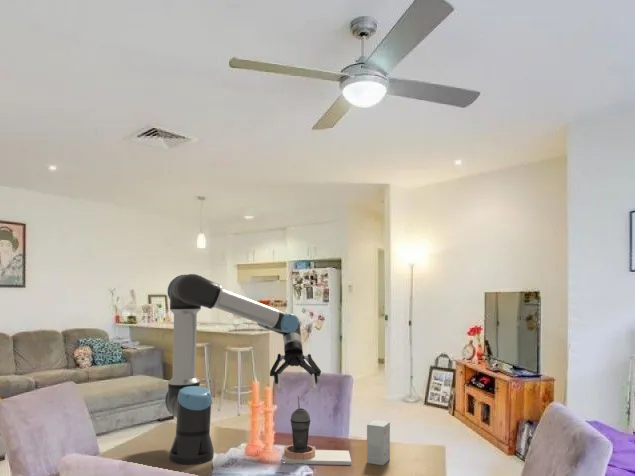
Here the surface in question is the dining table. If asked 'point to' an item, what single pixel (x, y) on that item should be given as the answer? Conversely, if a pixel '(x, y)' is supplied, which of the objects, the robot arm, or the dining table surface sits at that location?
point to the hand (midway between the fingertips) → (297, 390)
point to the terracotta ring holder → (299, 456)
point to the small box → (378, 442)
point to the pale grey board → (324, 458)
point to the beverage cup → (300, 429)
